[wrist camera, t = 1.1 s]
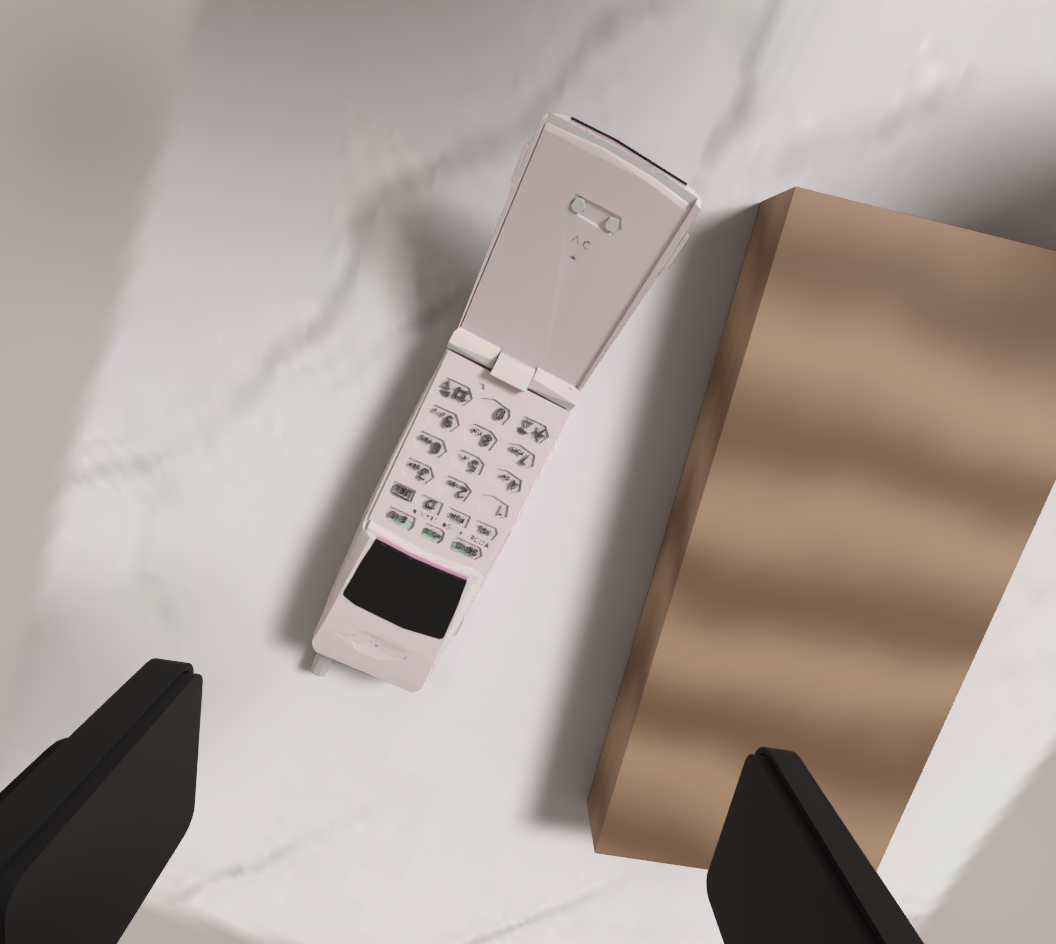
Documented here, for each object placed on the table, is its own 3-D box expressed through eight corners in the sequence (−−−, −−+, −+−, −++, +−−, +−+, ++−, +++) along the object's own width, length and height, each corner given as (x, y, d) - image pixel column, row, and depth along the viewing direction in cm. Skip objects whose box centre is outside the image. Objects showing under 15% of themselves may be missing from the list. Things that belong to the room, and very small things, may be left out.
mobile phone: (715, 193, 18) (391, 792, 24) (668, 223, 24) (415, 700, 30) (544, 93, 18) (248, 735, 23) (537, 148, 23) (302, 652, 29)
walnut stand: (760, 202, 24) (795, 186, 21) (1075, 278, 25) (1149, 274, 22) (587, 802, 31) (594, 852, 28) (834, 840, 32) (866, 892, 29)
